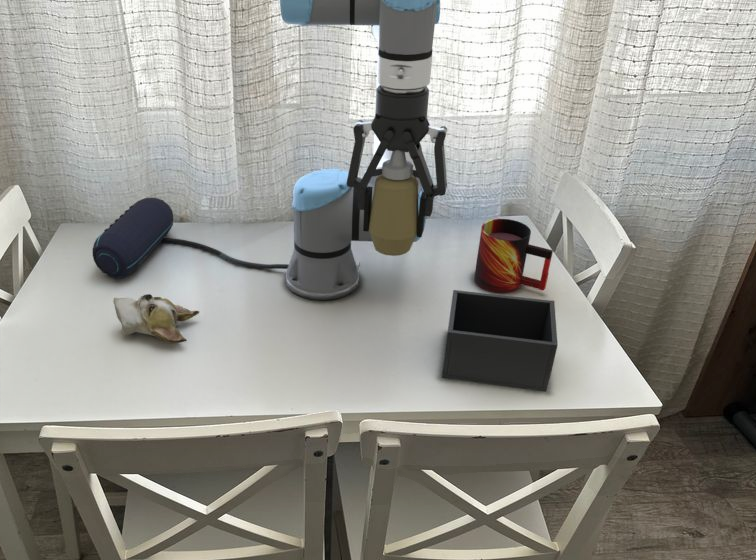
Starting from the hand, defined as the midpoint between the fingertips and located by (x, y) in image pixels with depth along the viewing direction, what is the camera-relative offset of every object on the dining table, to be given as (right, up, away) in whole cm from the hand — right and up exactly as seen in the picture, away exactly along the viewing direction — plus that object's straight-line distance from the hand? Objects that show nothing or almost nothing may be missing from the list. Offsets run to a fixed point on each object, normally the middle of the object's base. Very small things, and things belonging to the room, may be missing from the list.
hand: (393, 230), depth 116 cm
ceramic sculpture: (-43, -16, +22) cm, 51 cm away
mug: (+28, -5, +35) cm, 45 cm away
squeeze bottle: (0, -3, +2) cm, 3 cm away
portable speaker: (-52, +2, +46) cm, 69 cm away
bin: (+20, -21, +13) cm, 32 cm away
